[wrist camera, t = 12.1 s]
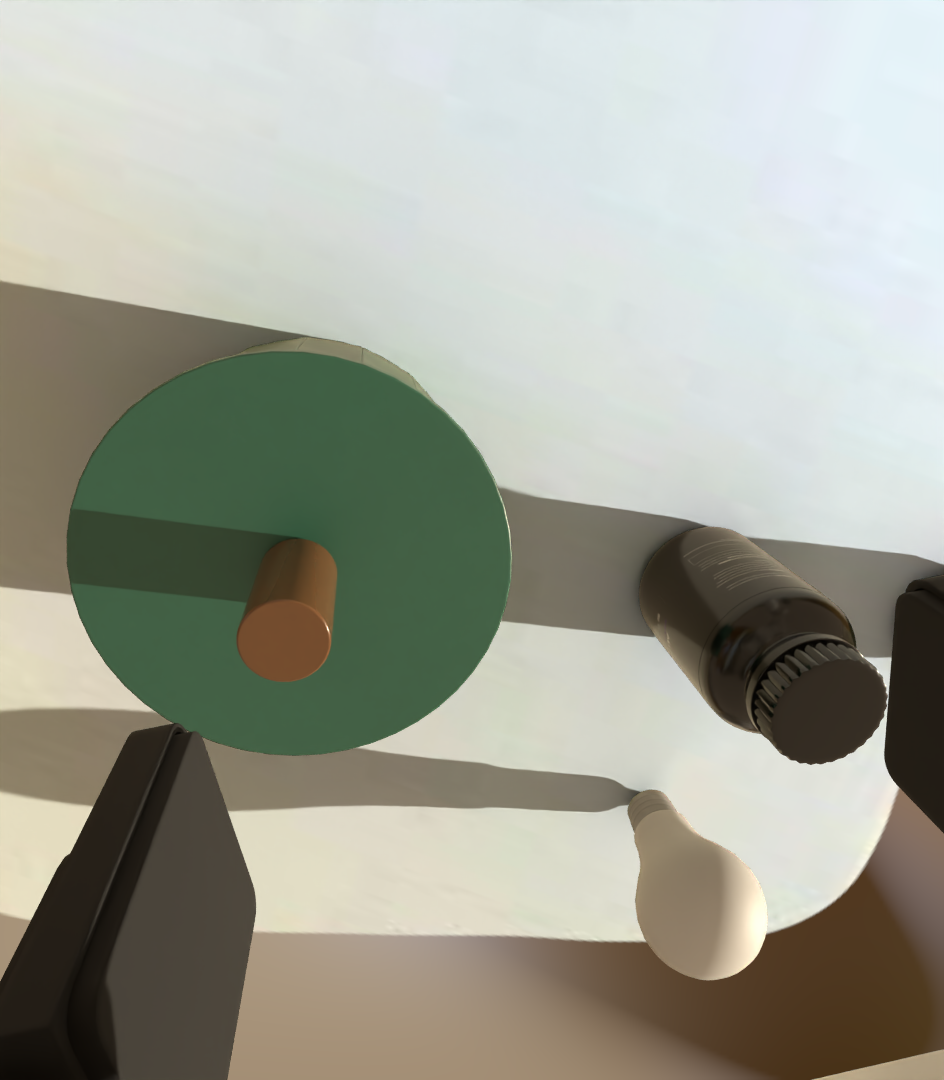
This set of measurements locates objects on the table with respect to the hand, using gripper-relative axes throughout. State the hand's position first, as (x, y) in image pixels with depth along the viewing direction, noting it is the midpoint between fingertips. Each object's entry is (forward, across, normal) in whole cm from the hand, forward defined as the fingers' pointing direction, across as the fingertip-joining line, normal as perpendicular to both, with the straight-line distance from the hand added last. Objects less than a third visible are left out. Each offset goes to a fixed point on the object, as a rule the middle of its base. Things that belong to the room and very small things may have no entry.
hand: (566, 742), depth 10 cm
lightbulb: (+26, -8, +26) cm, 37 cm away
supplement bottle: (+26, -12, +12) cm, 32 cm away
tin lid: (+16, +6, +4) cm, 18 cm away
